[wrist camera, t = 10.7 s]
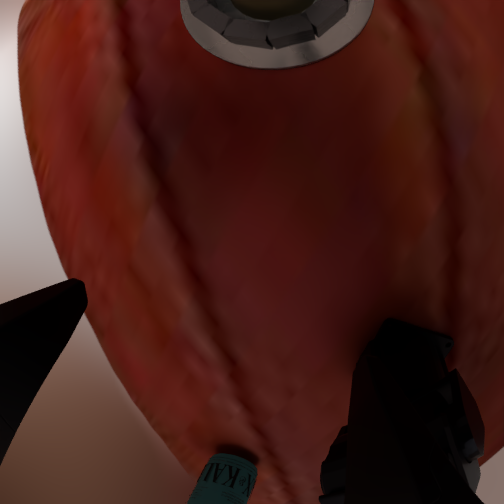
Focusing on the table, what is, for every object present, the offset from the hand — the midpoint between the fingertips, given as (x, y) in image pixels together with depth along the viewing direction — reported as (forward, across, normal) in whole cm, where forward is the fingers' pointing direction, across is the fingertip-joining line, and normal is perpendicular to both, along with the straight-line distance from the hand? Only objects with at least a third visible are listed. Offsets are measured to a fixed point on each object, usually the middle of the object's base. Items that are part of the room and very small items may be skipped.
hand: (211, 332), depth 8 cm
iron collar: (+14, +2, -15) cm, 20 cm away
